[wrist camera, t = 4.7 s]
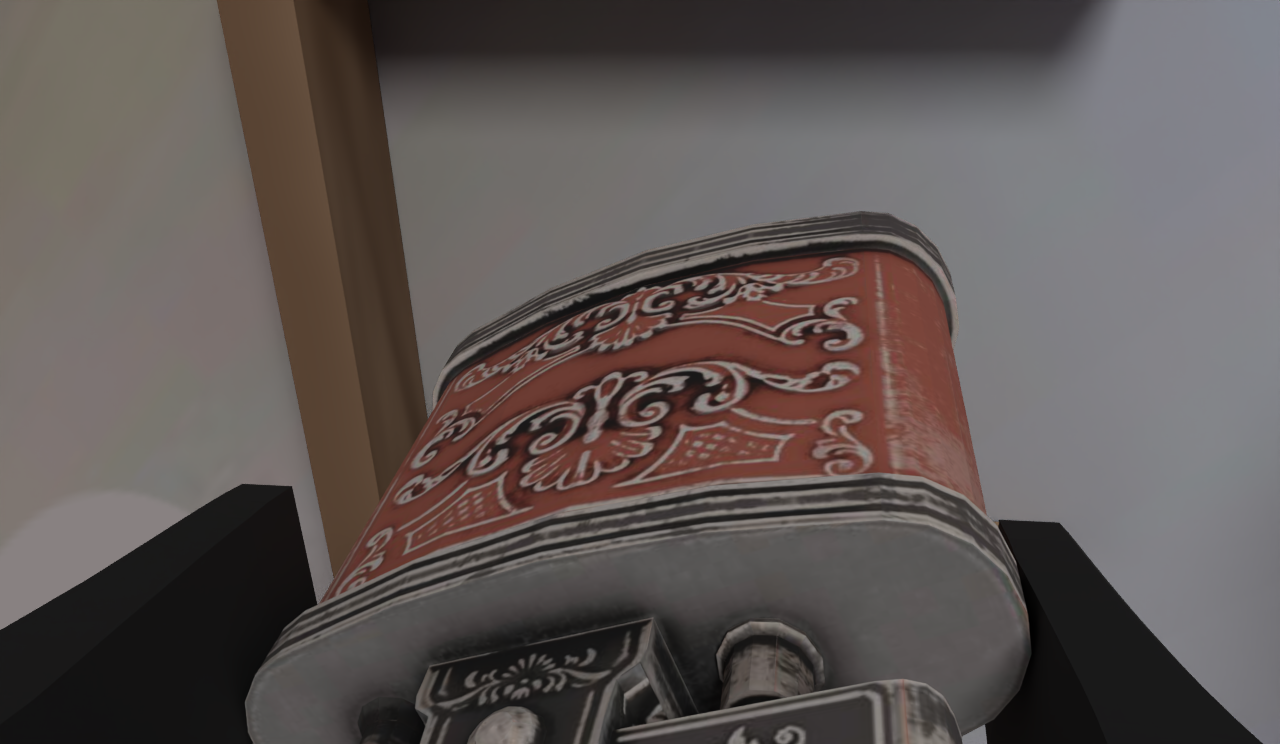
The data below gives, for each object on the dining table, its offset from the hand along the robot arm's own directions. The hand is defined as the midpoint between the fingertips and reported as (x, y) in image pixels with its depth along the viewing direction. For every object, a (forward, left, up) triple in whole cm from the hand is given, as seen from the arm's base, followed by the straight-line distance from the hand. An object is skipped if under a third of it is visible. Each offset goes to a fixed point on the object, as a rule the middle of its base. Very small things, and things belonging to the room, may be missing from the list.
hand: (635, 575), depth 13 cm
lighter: (0, 0, -6) cm, 6 cm away
